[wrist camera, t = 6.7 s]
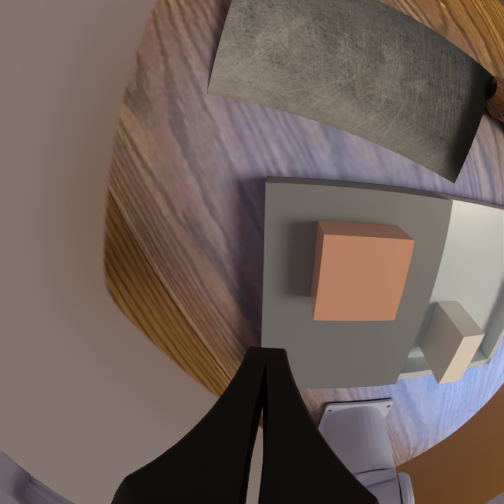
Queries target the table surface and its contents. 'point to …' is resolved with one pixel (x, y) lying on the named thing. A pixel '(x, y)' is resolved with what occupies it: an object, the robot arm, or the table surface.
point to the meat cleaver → (358, 75)
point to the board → (301, 271)
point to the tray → (468, 278)
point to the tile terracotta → (359, 271)
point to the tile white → (450, 341)
